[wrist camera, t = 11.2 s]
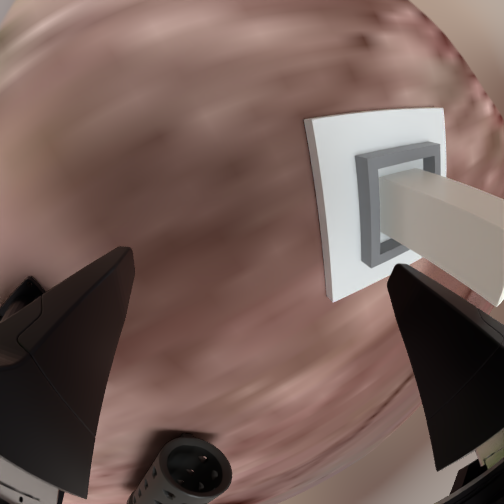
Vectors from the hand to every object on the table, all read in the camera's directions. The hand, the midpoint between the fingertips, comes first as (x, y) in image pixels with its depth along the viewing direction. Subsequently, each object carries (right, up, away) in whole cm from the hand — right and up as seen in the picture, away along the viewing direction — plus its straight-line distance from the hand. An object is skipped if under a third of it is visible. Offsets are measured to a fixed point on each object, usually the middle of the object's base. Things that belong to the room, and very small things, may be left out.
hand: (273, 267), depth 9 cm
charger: (+12, +5, +14) cm, 19 cm away
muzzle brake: (-15, -34, +24) cm, 44 cm away
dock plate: (+12, +6, +15) cm, 20 cm away
